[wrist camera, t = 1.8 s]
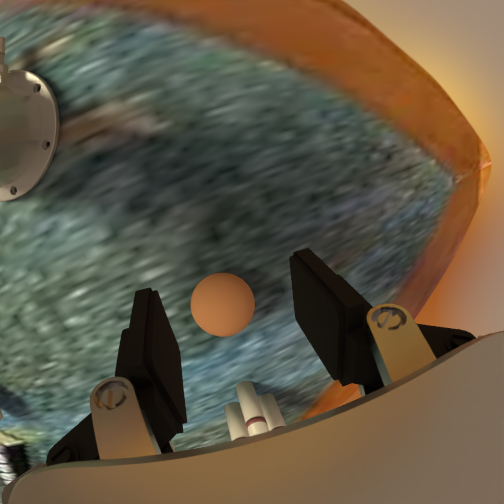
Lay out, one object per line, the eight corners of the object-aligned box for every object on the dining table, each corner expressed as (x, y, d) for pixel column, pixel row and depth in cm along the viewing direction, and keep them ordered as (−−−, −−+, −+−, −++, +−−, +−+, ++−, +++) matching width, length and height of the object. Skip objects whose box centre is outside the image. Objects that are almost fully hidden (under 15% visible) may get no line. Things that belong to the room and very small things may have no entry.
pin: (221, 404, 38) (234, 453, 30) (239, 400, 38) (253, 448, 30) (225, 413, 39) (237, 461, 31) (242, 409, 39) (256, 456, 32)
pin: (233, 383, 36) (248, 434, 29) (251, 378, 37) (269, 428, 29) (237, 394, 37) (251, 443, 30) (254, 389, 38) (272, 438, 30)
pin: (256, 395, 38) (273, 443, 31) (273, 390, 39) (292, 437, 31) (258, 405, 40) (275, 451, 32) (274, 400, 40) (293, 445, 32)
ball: (182, 270, 29) (184, 303, 23) (241, 255, 29) (257, 285, 24) (197, 318, 31) (202, 356, 26) (250, 305, 32) (266, 339, 27)
